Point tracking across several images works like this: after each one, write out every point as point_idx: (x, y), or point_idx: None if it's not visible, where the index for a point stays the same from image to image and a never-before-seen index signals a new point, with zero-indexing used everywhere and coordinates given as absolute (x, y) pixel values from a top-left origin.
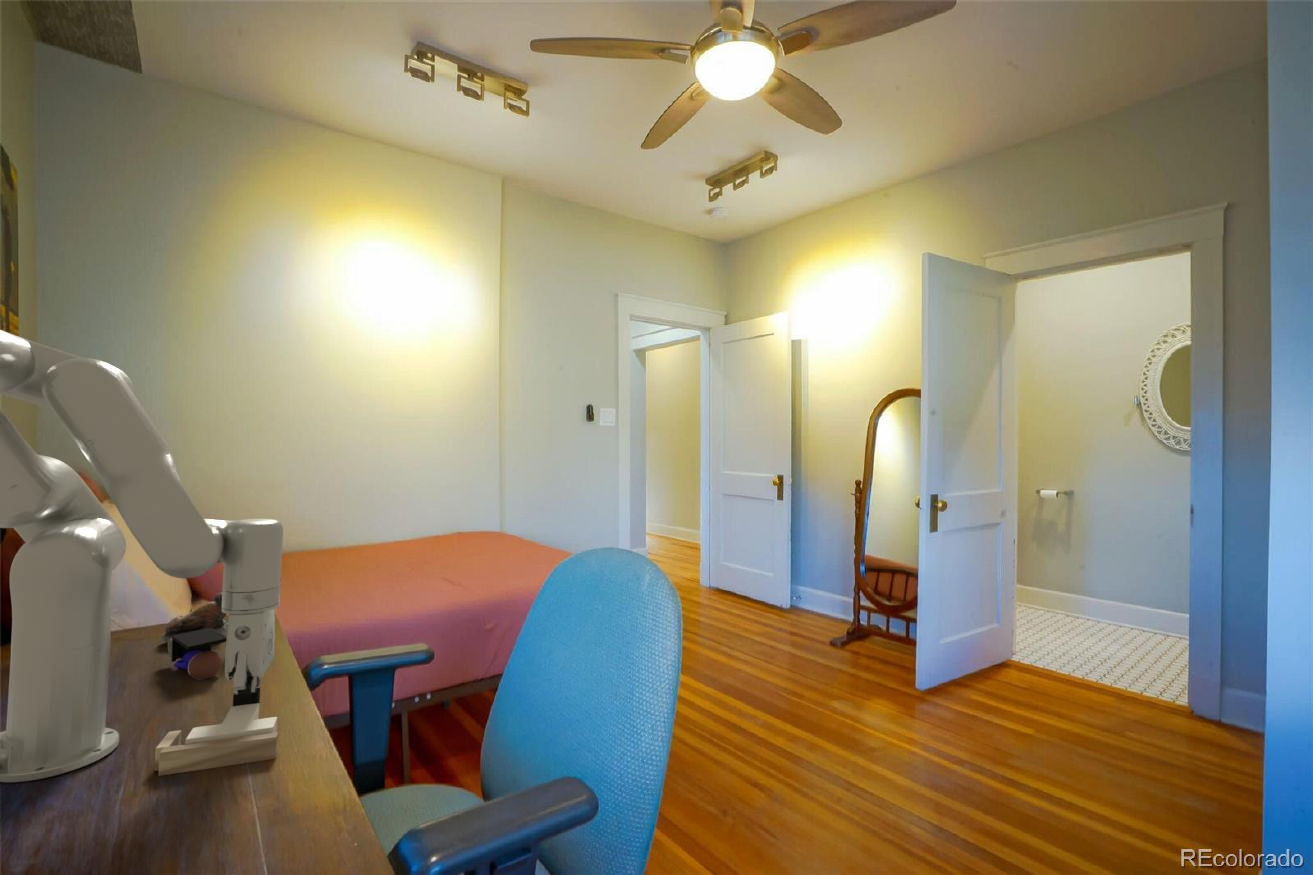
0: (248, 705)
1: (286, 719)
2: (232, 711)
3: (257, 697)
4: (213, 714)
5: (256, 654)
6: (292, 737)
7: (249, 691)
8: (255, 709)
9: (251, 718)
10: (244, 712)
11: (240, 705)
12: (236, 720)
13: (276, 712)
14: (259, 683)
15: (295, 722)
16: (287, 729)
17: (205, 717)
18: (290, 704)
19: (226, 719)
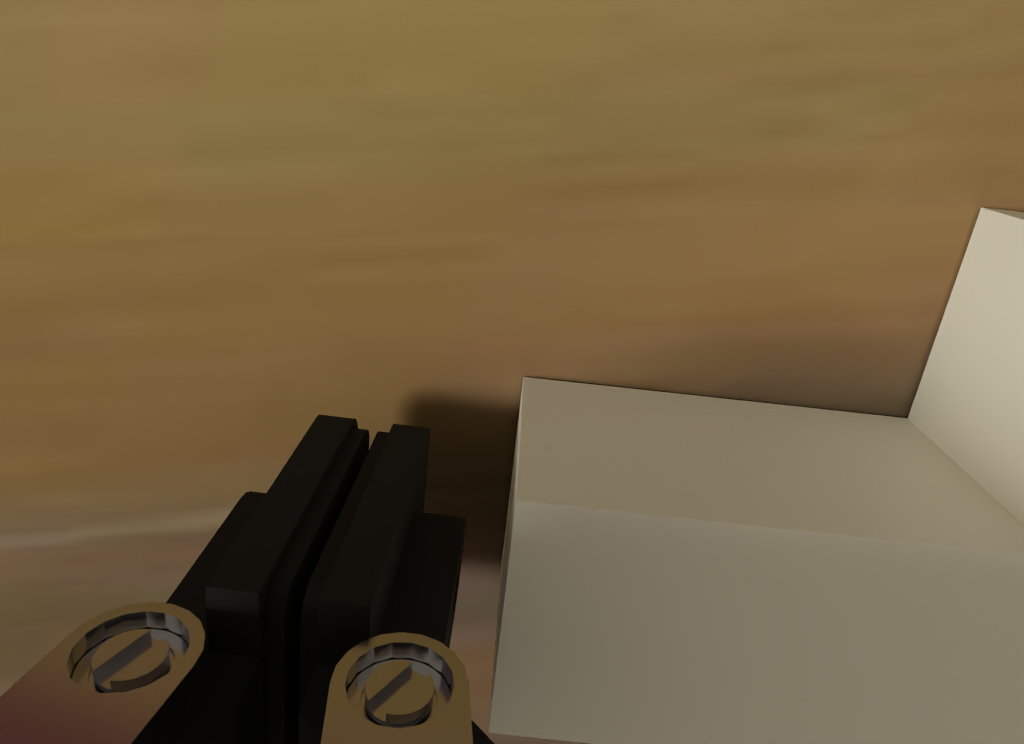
0: (540, 601)
1: (468, 124)
2: (644, 721)
3: (391, 547)
4: None
5: None
6: (1006, 43)
7: (481, 742)
8: (723, 530)
9: (1003, 555)
10: (753, 626)
11: (497, 668)
12: (953, 680)
13: (235, 232)
14: (101, 625)
15: (601, 21)
16: (752, 105)
17: None
18: (43, 95)
19: None
